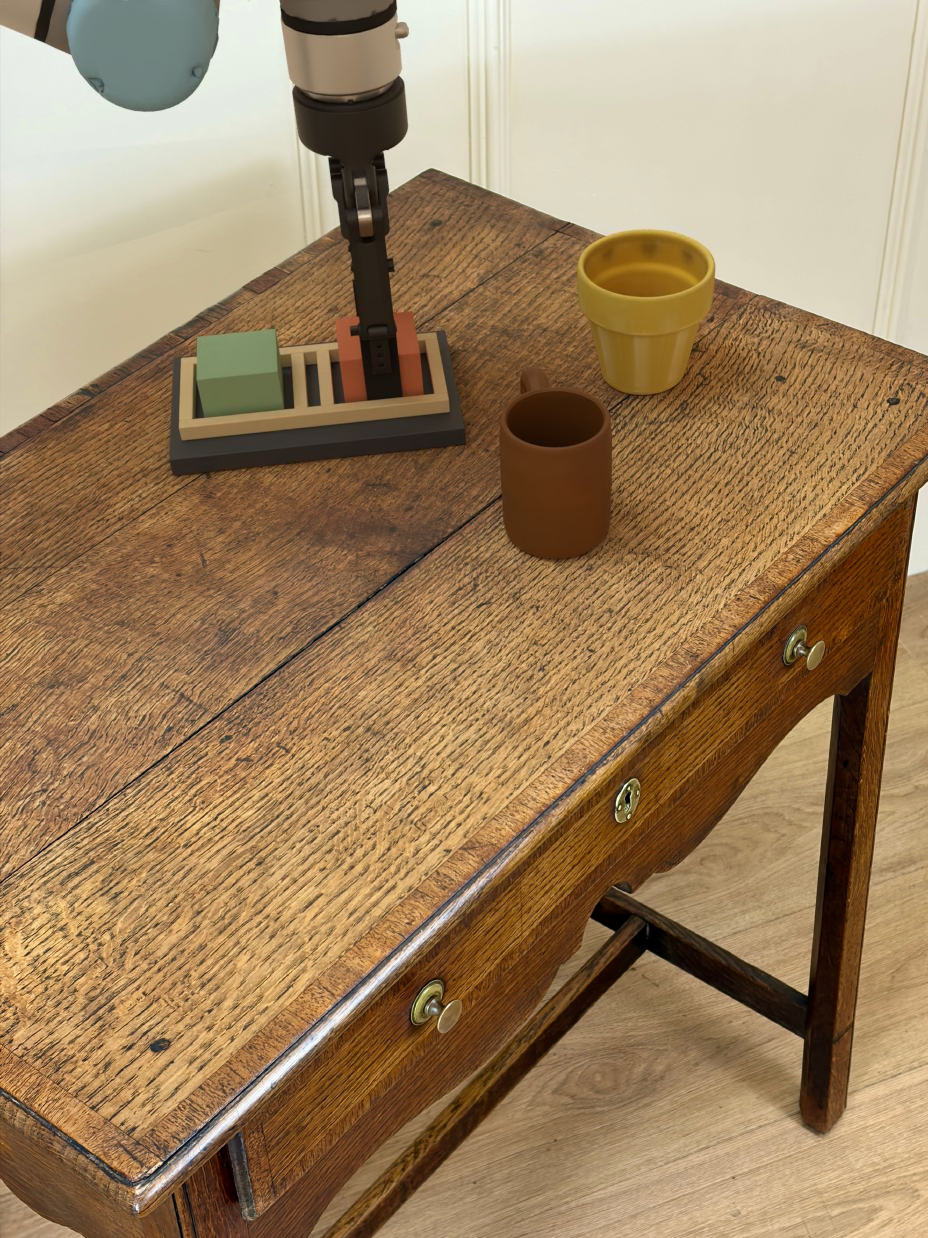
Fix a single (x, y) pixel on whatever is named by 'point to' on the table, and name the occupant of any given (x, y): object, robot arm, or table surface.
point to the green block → (240, 373)
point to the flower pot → (645, 305)
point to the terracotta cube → (354, 366)
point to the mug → (555, 468)
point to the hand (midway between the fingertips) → (381, 377)
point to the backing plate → (315, 415)
